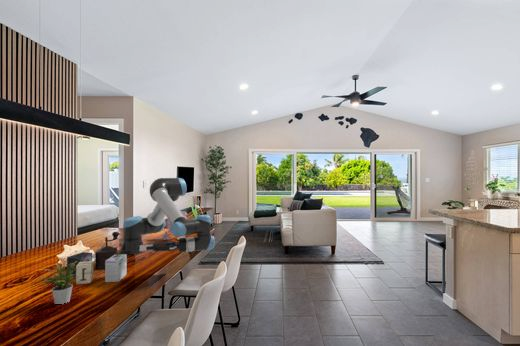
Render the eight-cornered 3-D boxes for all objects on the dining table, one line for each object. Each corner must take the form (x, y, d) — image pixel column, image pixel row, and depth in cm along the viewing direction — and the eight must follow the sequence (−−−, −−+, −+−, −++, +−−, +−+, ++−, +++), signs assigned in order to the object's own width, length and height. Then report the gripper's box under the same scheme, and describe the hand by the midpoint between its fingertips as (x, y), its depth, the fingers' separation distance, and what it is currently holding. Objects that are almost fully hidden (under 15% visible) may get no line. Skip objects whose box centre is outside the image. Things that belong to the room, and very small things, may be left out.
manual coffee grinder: (116, 267, 162) (117, 235, 162) (94, 269, 158) (94, 237, 158) (119, 259, 177) (119, 230, 177) (99, 261, 172) (99, 232, 173)
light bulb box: (113, 274, 150) (114, 254, 150) (127, 274, 151) (127, 253, 151) (104, 282, 140) (104, 260, 140) (118, 281, 140) (118, 259, 140)
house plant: (59, 293, 126) (59, 256, 126) (90, 293, 126) (90, 256, 126) (32, 308, 112) (33, 266, 112) (67, 309, 112) (67, 267, 112)
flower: (173, 233, 249) (163, 209, 240) (196, 232, 242) (186, 207, 233) (161, 248, 232) (149, 222, 222) (185, 247, 225) (174, 221, 215)
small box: (76, 278, 145) (76, 257, 145) (65, 277, 146) (66, 257, 146) (92, 271, 155) (93, 252, 155) (82, 270, 156) (82, 251, 156)
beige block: (79, 280, 143) (79, 262, 143) (93, 278, 145) (93, 260, 145) (76, 284, 137) (76, 265, 137) (90, 282, 139) (90, 264, 139)
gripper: (187, 254, 150) (138, 258, 143) (185, 248, 163) (140, 252, 155) (187, 240, 150) (138, 243, 143) (185, 235, 163) (140, 238, 155)
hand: (139, 248), depth 149 cm, fingers closed
